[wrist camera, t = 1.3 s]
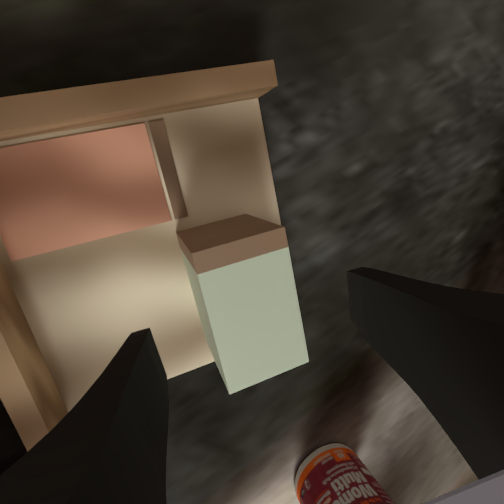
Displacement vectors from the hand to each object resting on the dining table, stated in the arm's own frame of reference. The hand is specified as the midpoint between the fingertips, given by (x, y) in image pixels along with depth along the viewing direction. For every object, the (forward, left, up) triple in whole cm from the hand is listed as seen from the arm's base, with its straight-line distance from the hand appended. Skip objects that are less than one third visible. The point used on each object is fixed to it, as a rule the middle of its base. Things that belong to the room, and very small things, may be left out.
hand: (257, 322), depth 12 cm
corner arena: (+1, +3, -10) cm, 11 cm away
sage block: (-2, -1, -10) cm, 10 cm away
